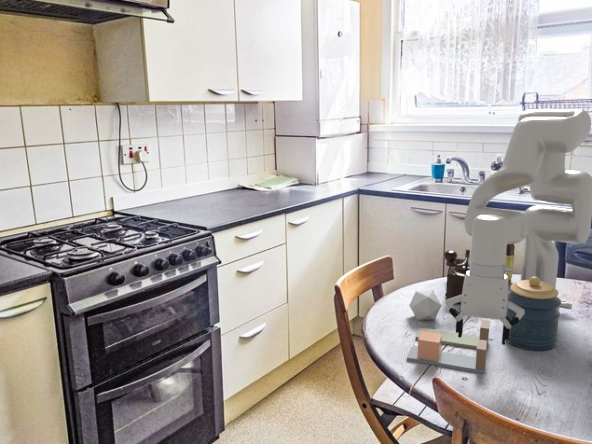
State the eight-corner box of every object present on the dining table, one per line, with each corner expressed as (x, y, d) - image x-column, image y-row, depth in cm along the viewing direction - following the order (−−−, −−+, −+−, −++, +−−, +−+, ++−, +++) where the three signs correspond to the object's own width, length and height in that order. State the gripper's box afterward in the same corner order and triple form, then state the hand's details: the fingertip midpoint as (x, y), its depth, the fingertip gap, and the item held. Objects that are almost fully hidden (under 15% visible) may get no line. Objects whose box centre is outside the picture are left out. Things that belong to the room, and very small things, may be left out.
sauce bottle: (489, 278, 182) (492, 223, 178) (506, 277, 183) (510, 223, 178) (497, 285, 176) (501, 228, 171) (515, 284, 176) (520, 227, 172)
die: (434, 328, 146) (450, 298, 147) (407, 313, 147) (423, 283, 148) (426, 326, 154) (442, 298, 156) (401, 311, 155) (416, 283, 156)
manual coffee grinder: (448, 291, 172) (450, 238, 168) (483, 295, 168) (486, 242, 163) (439, 308, 158) (442, 251, 154) (477, 313, 154) (481, 255, 150)
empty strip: (488, 340, 137) (489, 320, 136) (487, 350, 132) (488, 329, 130) (419, 330, 144) (420, 310, 143) (415, 339, 139) (416, 319, 137)
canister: (553, 332, 141) (559, 271, 137) (560, 354, 129) (567, 288, 125) (502, 326, 145) (506, 266, 141) (503, 347, 133) (509, 282, 129)
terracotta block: (441, 352, 130) (442, 334, 129) (438, 361, 125) (439, 342, 124) (420, 349, 132) (421, 330, 131) (417, 358, 127) (418, 339, 126)
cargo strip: (485, 361, 126) (487, 339, 125) (484, 373, 121) (485, 350, 120) (411, 349, 133) (412, 328, 132) (406, 360, 128) (407, 338, 127)
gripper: (528, 268, 118) (521, 338, 122) (449, 260, 125) (445, 326, 129) (528, 278, 112) (521, 352, 115) (445, 269, 118) (441, 339, 122)
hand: (481, 338), depth 122 cm, fingers open, 9 cm apart
